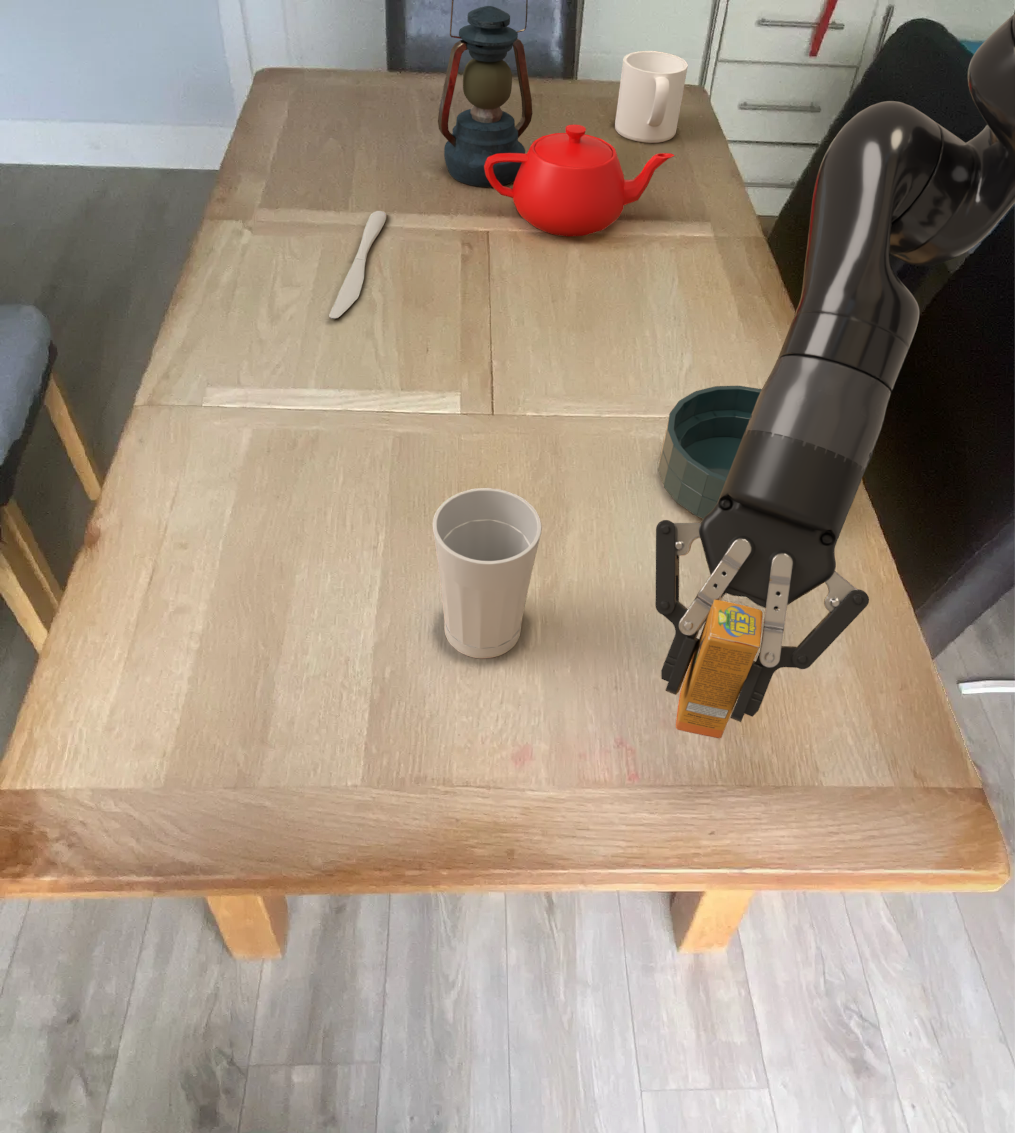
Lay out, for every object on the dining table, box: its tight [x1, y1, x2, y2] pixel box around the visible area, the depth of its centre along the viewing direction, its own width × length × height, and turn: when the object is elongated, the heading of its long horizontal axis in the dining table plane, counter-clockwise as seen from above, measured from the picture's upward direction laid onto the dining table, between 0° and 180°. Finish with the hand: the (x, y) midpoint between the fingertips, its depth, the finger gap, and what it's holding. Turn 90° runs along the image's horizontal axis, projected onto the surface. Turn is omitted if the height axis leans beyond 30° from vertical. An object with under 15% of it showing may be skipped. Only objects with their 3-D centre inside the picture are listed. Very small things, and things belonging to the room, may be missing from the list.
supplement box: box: [675, 600, 764, 740], centre depth 57 cm, size 3×3×10 cm
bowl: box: [657, 385, 762, 519], centre depth 87 cm, size 15×15×6 cm
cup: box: [432, 487, 543, 659], centre depth 70 cm, size 8×8×12 cm
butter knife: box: [328, 210, 387, 320], centre depth 114 cm, size 1×27×3 cm
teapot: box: [484, 124, 675, 238], centre depth 121 cm, size 25×16×12 cm, turn 90°
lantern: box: [437, 0, 534, 188], centre depth 121 cm, size 14×12×35 cm
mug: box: [614, 50, 689, 144], centre depth 143 cm, size 13×10×10 cm
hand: (704, 703), depth 57 cm, fingers closed on supplement box, 3 cm apart
